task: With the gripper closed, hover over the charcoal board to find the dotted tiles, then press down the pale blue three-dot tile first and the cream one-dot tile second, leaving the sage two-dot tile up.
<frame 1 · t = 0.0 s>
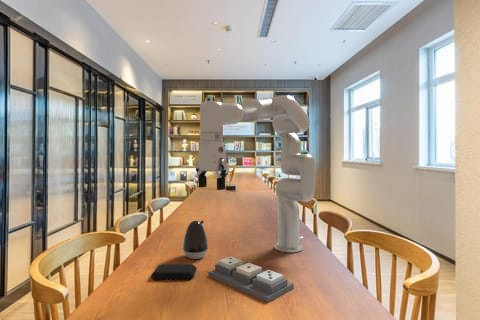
hand: (211, 188, 104), 31 cm above the table, tool pointing down, fingers open, 9 cm apart
tile three: (269, 277, 96), point 4 cm above the table, slide at 0.0 cm
button board: (249, 281, 102), on the table
tile two: (230, 263, 109), point 4 cm above the table, slide at 0.0 cm
carrying case or bag: (175, 276, 109), on the table
tile one: (249, 270, 102), point 4 cm above the table, slide at 0.0 cm
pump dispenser: (195, 257, 126), on the table
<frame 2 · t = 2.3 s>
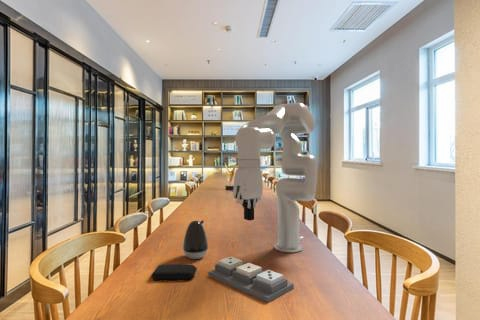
hand: (249, 219, 102), 21 cm above the table, tool pointing down, fingers closed
nothing on the table moved.
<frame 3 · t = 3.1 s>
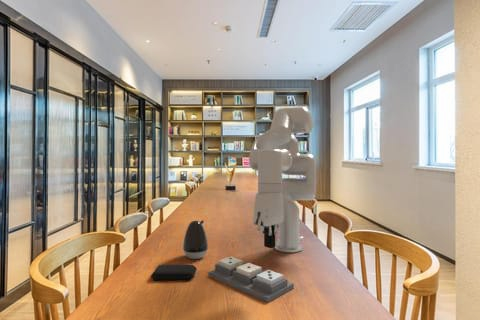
hand: (269, 246, 95), 14 cm above the table, tool pointing down, fingers closed
nothing on the table moved.
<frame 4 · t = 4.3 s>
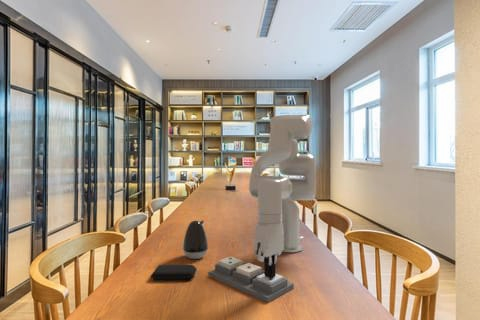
hand: (269, 276, 96), 5 cm above the table, tool pointing down, fingers closed
tile three: (269, 279, 96), point 4 cm above the table, slide at 0.5 cm, touching gripper
everything else where it was.
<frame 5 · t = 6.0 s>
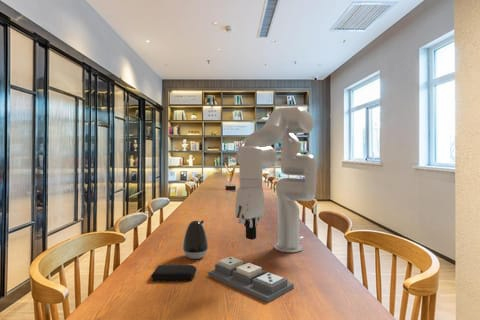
hand: (250, 238, 101), 15 cm above the table, tool pointing down, fingers closed
tile three: (269, 280, 96), point 3 cm above the table, slide at 0.9 cm
everything else where it was.
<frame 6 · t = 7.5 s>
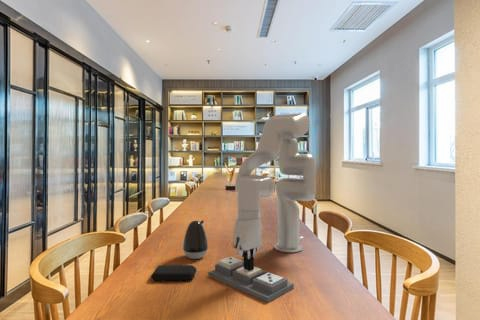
hand: (248, 268, 102), 4 cm above the table, tool pointing down, fingers closed
tile one: (249, 271, 102), point 3 cm above the table, slide at 0.7 cm, touching gripper
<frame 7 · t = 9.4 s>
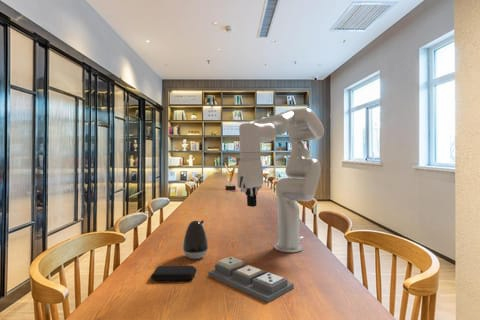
hand: (251, 205, 113), 23 cm above the table, tool pointing down, fingers closed
tile one: (249, 272, 102), point 3 cm above the table, slide at 0.9 cm
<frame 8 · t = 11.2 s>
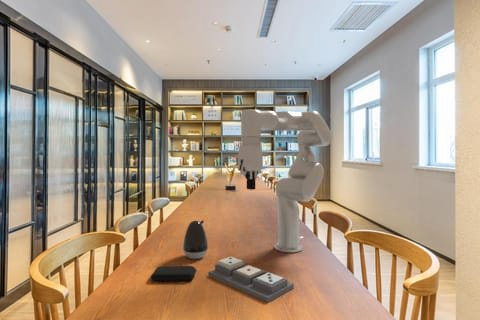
hand: (250, 189, 118), 29 cm above the table, tool pointing down, fingers closed
at the end: tile three slide at 0.9 cm; tile one slide at 0.9 cm; tile two slide at 0.0 cm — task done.
